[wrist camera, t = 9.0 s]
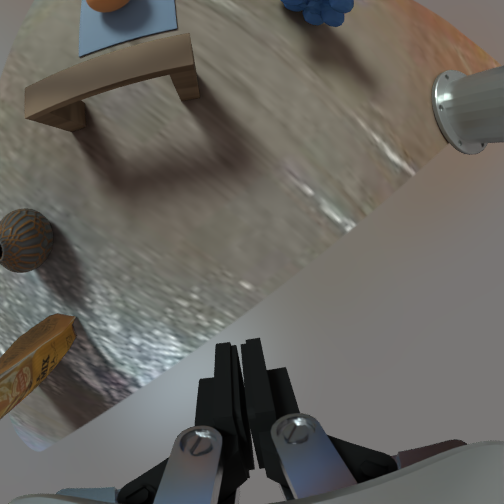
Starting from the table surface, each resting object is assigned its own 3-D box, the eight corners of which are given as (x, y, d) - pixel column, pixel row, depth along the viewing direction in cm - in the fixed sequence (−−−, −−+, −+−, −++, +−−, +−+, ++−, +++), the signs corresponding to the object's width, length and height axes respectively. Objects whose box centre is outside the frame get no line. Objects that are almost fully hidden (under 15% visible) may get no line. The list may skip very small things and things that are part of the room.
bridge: (69, 108, 26) (24, 88, 17) (196, 73, 27) (189, 32, 18) (71, 132, 27) (24, 118, 18) (200, 97, 28) (193, 64, 19)
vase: (43, 194, 28) (-2, 200, 20) (71, 242, 30) (31, 261, 21) (11, 227, 28) (-32, 241, 20) (37, 272, 30) (-3, 297, 22)
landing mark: (171, -36, 23) (171, -37, 23) (177, 28, 26) (176, 28, 26) (83, -10, 22) (83, -11, 22) (79, 57, 25) (78, 56, 25)
